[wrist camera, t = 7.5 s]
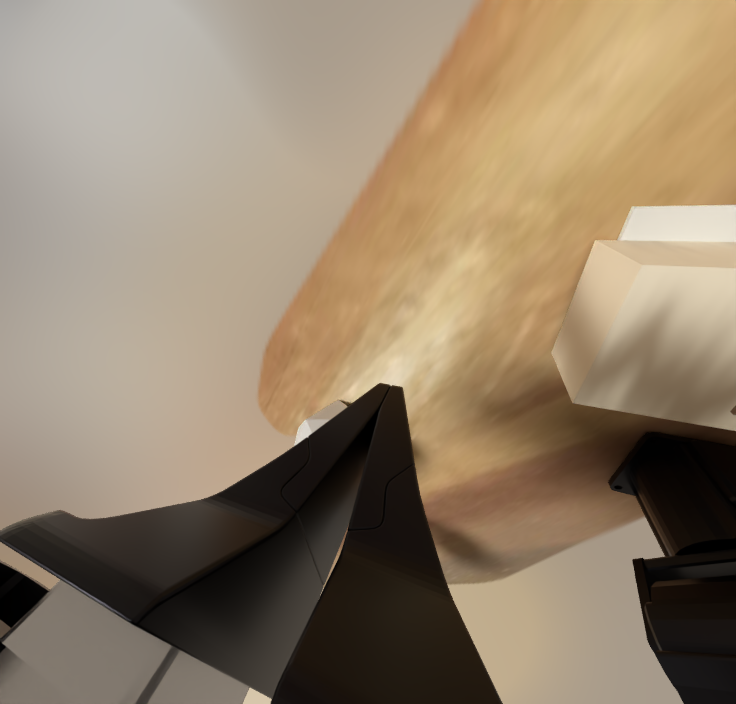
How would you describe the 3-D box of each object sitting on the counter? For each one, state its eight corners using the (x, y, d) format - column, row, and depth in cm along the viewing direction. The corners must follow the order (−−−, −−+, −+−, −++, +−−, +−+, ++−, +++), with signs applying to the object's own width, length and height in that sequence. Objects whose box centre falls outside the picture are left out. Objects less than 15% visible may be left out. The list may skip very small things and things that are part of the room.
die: (305, 408, 31) (297, 501, 27) (288, 387, 24) (274, 513, 20) (374, 408, 32) (376, 500, 28) (380, 387, 24) (384, 511, 20)
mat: (725, 394, 16) (729, 397, 16) (560, 370, 18) (561, 373, 18) (899, 201, 10) (909, 202, 10) (631, 206, 13) (634, 206, 13)
